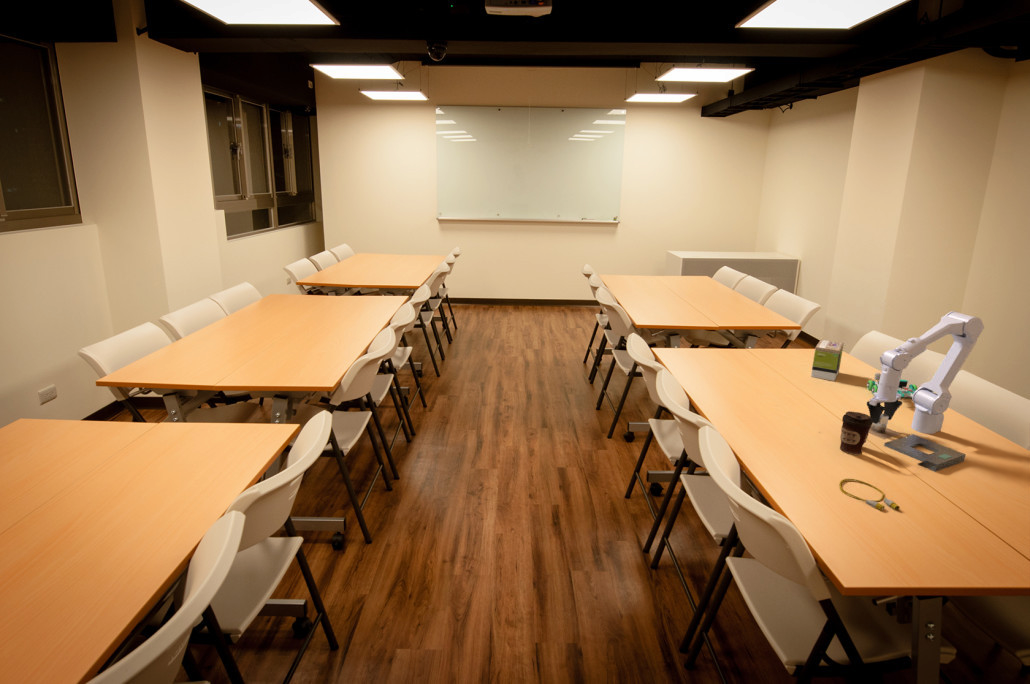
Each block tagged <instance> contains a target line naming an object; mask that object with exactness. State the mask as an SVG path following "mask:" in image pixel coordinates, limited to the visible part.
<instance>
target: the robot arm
mask: <svg viewBox="0 0 1030 684" xmlns="http://www.w3.org/2000/svg"><path fill="white" fill-rule="evenodd" d="M984 329H985V325H984V323H983V320H982V319H981V318H980V317H979V316H978V317H976V316H972V315H968V314H965V313H960V312H959V311H955V310H952V311H949V312H948V313H947V312H946V314H944V315H943V316H941V318H940V321H939V322H938V323H936V324H935V325H934V326H933V327H931V328H930V329H929V330H928V331H926V332H925V333H923V334H921V335H920V336H919V337H910V338H908V339H907V341H905V342H903V343H902V344H900V345H899V346H896V347H895V348H894V349H887V350H885V351H884V352H882V355H881V356H880V357H879V361H880V364H881V366H880V368H881V372H880V374H881V376H880V381H879V380H878V381H879V385H878V390H877V392H876V393H873V394H872V395H873V397H872V398H870V399H869V400H868V401H867V402H866V406H867V409H868V411H869V416H870V417H871V421H872V422H873V423H875V424H877V423H878V422H879V419H880V416H881V414H882V413H883V414H886V415H888V416H889V418H888V421H891V420H892V418H893V417H894V415H895V413H896V412H897V410H898V409H899V408H900V407H901V406H902V405H903V401H901V398H902V397H901V394H898V393H897V391H898V387H899V383H900V379H901V377H902V374H903V371H904V370H905V369H907V367H908V366H909V364H910V363H911V362H912V360H913V359H915V358H916V357H918V356H919V355H921V354H922V353H924V352H926V350H927V347H928V346H929V345H931V344H933V343H935V342H936V341H938V340H940V339H942V338H944V337H946V336H947V335H951V336H952V339H953V343H952V345H951V347H950V348H949V350H948V351H947V353H946V355H945V356H944V358H943V360H942V361H941V363H940V365H939V366H938V368H937V370H936V371H935V373H934V375H933V376H932V378H931V380H930V381H927V382H923V383H922V384H921V385H920V386H919V387H918V388H917V390H916V391H915V392H914V394H913V396H912V397H911V399H912V402H913V403H914V407H915V409H914V413H913V417H912V422H911V426H910V428H911V429H912V430H914V431H915V432H918V433H922V434H926V435H934V434H936V433H937V432H942V428H943V423H944V421H945V420H944V419H945V415H944V412H946V411H947V410H948V409H949V407H950V402H951V399H952V398H953V396H952V394H951V392H950V390H949V388H950V387H951V385H952V383H953V381H954V380H955V378H956V377H957V374H958V373H959V371H960V370H961V368H962V367H963V365H964V364H965V362H966V360H967V359H968V357H969V355H970V354H971V352H972V350H973V348H975V346H976V344H977V341H978V340H979V339H978V338H979V337H980V335H981V334H982V333H983V331H984ZM882 404H884V405H882Z"/></svg>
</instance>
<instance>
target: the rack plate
mask: <svg viewBox="0 0 1030 684" xmlns="http://www.w3.org/2000/svg"><path fill="white" fill-rule="evenodd" d="M883 446H884V447H886V448H889V449H891V450H893V451H896V452H898V453H900V454H903V455H905V456H908V457H910V458H912V459H915V460H917V461H920V462H918V463H917V465H918V466H920V467H923V468H925V469H927V470H930V471H932V472H934V473H935V472H939V471H941V470H944V469H946V468H949V467H952V466H955V465H958V464H961V463H963V462H965V458H966V453H963V452H960V451H958V450H955V449H953V448H951V447H947V446H945V445H942V444H939V443H938V442H934V441H932V440H929V439H927V438H924V437H923V436H922V437H921V436H919V435H917V434H912V433H911V434H910V435H907V436H902V437H899V438H896V439H893V440H891V441H886V442H884V444H883ZM917 447H921V448H923V449H926V450H929V451H932V453H929V454H928V453H927V452H924V451H922V450H919V449H916V448H917Z"/></svg>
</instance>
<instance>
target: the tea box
mask: <svg viewBox="0 0 1030 684" xmlns="http://www.w3.org/2000/svg"><path fill="white" fill-rule="evenodd" d="M843 349H844V342H840V341H839V342H837V341H832V340H824V339H820V340H819V341H818V343H817V344H816V346H815V348H814V355H813V361H812V368H811V374H810V377H811V378H816V379H820V380H827V381H832V382H833V381H834V382H835V381H836V379H837V376H838V375H839V373H840V368H841V362H842V355H843Z"/></svg>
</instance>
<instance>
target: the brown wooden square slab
mask: <svg viewBox="0 0 1030 684" xmlns="http://www.w3.org/2000/svg"><path fill="white" fill-rule="evenodd" d="M872 427H873V423H872V425H871V428H870V429H869V433H868V434H870V435H872V436H876V437H878V438H880V439H883V440H887V439H889V438H893V437H896V436H900V435H902V433H901V432H898V431H895V430H893V429H890V428H888V427H886V431H885V433H877V432H875V431H873V430H872Z"/></svg>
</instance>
